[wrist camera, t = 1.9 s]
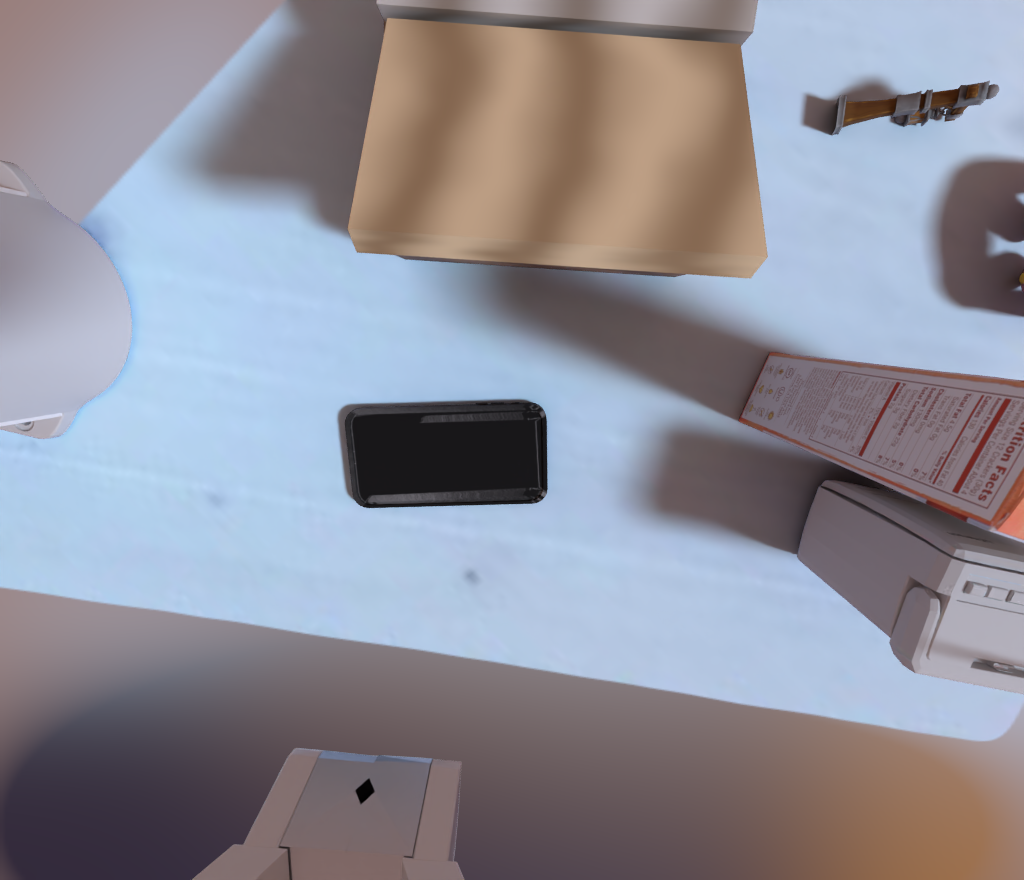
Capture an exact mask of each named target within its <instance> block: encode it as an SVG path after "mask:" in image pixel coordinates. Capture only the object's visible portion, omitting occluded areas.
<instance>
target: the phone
mask: <svg viewBox="0 0 1024 880" xmlns="http://www.w3.org/2000/svg"><path fill="white" fill-rule="evenodd" d="M345 430H346V439H347V447H348V456H349V465H350V474H351V483H352V492H353V497H354V499H355V501H356V502H357V503H358V504H359V505H360V506H363V507H366V508H386V507H422V506H459V505H496V504H532V503H538V502H539V501H541V500H542V499H543V498H544V497H545V496H546V494H547V419H546V414H545V412H544V410H543V408H542V407H540V406H539V405H537V404H535V403H519V402H515V403H505V404H504V403H491V404H487V403H476V404H470V405H435V406H400V407H366V408H357V409H355V410H354V411H352V412H350V413H349V414H348V416H347V417H346V420H345Z"/></svg>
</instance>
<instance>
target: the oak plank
mask: <svg viewBox="0 0 1024 880" xmlns="http://www.w3.org/2000/svg"><path fill="white" fill-rule="evenodd" d="M348 231H349V234H350V236H351V239H352V241H353V244H354V246H355V249H356V251H357V252H359V253H374V254H389V255H405V256H420V257H435V258H450V259H465V260H480V261H496V262H511V263H526V264H541V265H556V266H571V267H587V268H602V269H617V270H632V271H647V272H663V273H678V274H693V275H708V276H723V277H738V278H751V277H752V276H753V275H754V273H755V272H756V271H757V270H758V268H759V267H760V266H761V265H762V263H763V262H764V261H765V260H766V258H767V257H768V255H767V247H766V240H765V232H764V224H763V216H762V208H761V200H760V193H759V185H758V177H757V169H756V161H755V154H754V146H753V138H752V130H751V122H750V115H749V107H748V99H747V91H746V83H745V75H744V68H743V60H742V52H741V44H734V43H720V42H706V41H693V40H679V39H666V38H652V37H639V36H625V35H612V34H598V33H585V32H571V31H557V30H544V29H530V28H517V27H503V26H490V25H476V24H463V23H449V22H436V21H422V20H408V19H395V18H387V22H386V27H385V32H384V38H383V43H382V48H381V54H380V59H379V64H378V70H377V75H376V80H375V86H374V91H373V96H372V101H371V107H370V112H369V117H368V123H367V128H366V133H365V139H364V144H363V149H362V155H361V160H360V165H359V171H358V176H357V181H356V187H355V192H354V197H353V203H352V208H351V213H350V219H349V224H348Z"/></svg>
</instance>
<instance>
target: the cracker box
mask: <svg viewBox="0 0 1024 880" xmlns="http://www.w3.org/2000/svg"><path fill="white" fill-rule="evenodd" d="M739 422H741V423H743V424H746V425H748V426H751V427H753V428H755V429H758V430H760V431H762V432H765V433H767V434H769V435H771V436H773V437H776V438H778V439H781V440H783V441H785V442H788V443H790V444H792V445H795V446H797V447H799V448H801V449H804V450H806V451H808V452H810V453H813V454H815V455H817V456H819V457H822V458H824V459H826V460H829V461H831V462H833V463H835V464H838V465H840V466H842V467H844V468H847V469H849V470H851V471H853V472H856V473H858V474H860V475H862V476H865V477H867V478H869V479H871V480H874V481H876V482H878V483H880V484H883V485H885V486H887V487H889V488H892V489H894V490H896V491H898V492H900V493H903V494H905V495H907V496H909V497H911V498H914V499H916V500H918V501H920V502H923V503H925V504H927V505H929V506H931V507H933V508H936V509H938V510H940V511H943V512H945V513H947V514H949V515H952V516H954V517H956V518H958V519H960V520H962V521H964V522H967V523H970V524H972V525H975V526H977V527H979V528H982V529H984V530H987V531H990V532H993V533H996V534H998V535H1001V536H1004V537H1007V538H1010V539H1013V540H1016V541H1019V542H1022V543H1024V381H1022V380H1013V379H1005V378H998V377H990V376H980V375H970V374H960V373H950V372H941V371H932V370H923V369H914V368H905V367H897V366H888V365H880V364H871V363H863V362H854V361H845V360H837V359H827V358H818V357H810V356H801V355H789V354H783V353H774V352H771V353H770V354H769V356H768V358H767V360H766V362H765V364H764V366H763V368H762V370H761V373H760V375H759V377H758V379H757V381H756V383H755V386H754V388H753V390H752V392H751V394H750V397H749V399H748V401H747V403H746V405H745V407H744V410H743V412H742V414H741V416H740V418H739Z"/></svg>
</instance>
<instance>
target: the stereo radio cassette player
mask: <svg viewBox="0 0 1024 880" xmlns="http://www.w3.org/2000/svg"><path fill="white" fill-rule="evenodd" d="M821 485H822V486H819V488H818V490H817V493H816V495H815V498H814V500H813V503H812V506H811V508H810V511H809V514H808V517H807V520H806V523H805V526H804V529H803V534H802V538H801V542H800V546H799V550H798V554H797V557H798V559H799V560H800V561H801V562H802V563H803V564H804V565H805V566H806V567H808V568H809V569H810V570H811V571H812V572H814V573H815V574H816V575H817V576H818V577H819V578H821V579H822V580H823V581H824V582H825V583H826V584H828V585H829V586H830V587H831V588H832V589H834V590H835V591H836V592H837V593H838V594H840V595H841V596H842V597H843V598H844V599H846V600H847V601H848V602H849V603H850V604H851V605H853V606H854V607H855V608H856V609H857V610H858V611H860V612H861V613H862V614H863V615H864V616H865V617H867V618H868V619H869V620H870V621H871V622H873V623H874V624H875V625H876V626H877V627H878V628H880V629H881V630H882V631H883V632H884V633H885V634H887V635H888V636H889V637H890V638H891V639H890V642H889V643H890V646H891V648H892V651H893V654H894V655H895V656H896V657H897V659H898V660H899V661H900V662H901V663H902V664H903V665H904V666H905V667H907V668H908V669H910V670H911V671H913V672H914V673H917V674H922V675H927V676H933V677H938V678H943V679H948V680H953V681H958V682H963V683H968V684H973V685H979V686H984V687H989V688H994V689H999V690H1004V691H1009V692H1014V693H1019V694H1024V543H1022V542H1019V541H1016V540H1013V539H1010V538H1007V537H1004V536H1001V535H998V534H996V533H993V532H990V531H987V530H984V529H982V528H979V527H977V526H975V525H972V524H970V523H967V522H964V521H962V520H960V519H958V518H956V517H954V516H952V515H949V514H947V513H945V512H943V511H940V510H938V509H936V508H933V507H931V506H929V505H927V504H925V503H923V502H920V501H918V500H916V499H914V498H911V497H909V496H907V495H903V494H899V493H894V492H890V491H885V490H880V489H876V488H871V487H866V486H862V485H857V484H853V483H848V482H842V481H837V480H825V481H824V482H823V483H822V484H821Z"/></svg>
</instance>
